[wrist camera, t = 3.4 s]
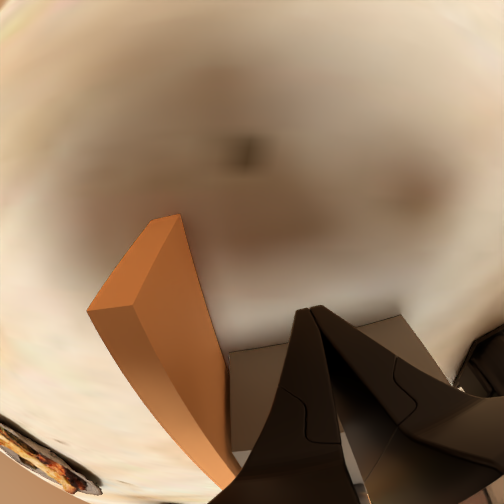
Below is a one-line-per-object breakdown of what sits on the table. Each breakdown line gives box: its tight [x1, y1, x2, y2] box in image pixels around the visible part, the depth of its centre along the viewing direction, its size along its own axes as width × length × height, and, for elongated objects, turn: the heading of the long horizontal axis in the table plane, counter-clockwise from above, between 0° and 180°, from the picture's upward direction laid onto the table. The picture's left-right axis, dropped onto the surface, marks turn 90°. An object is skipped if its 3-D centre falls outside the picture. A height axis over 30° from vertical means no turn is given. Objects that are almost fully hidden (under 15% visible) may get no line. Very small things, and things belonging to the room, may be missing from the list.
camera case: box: [229, 315, 450, 504], centre depth 15 cm, size 10×18×8 cm, turn 9°
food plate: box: [0, 423, 103, 495], centre depth 23 cm, size 25×23×4 cm
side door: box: [87, 214, 242, 490], centre depth 14 cm, size 2×27×6 cm, turn 9°
